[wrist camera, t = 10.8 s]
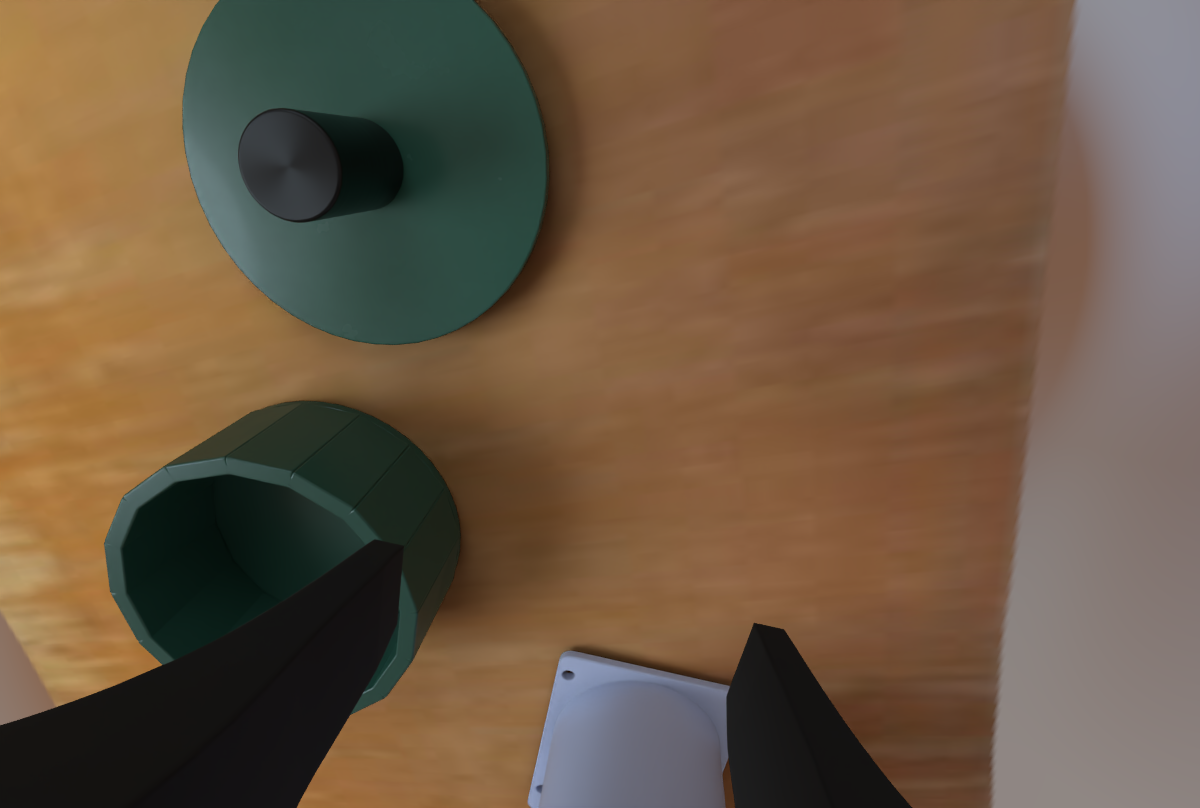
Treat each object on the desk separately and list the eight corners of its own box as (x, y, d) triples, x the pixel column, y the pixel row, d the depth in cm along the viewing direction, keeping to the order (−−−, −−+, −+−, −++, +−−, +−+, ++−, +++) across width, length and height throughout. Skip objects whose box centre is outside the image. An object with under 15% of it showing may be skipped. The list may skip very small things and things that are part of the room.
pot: (446, 649, 27) (403, 749, 22) (212, 596, 27) (121, 685, 22) (475, 434, 23) (429, 502, 18) (201, 373, 23) (88, 426, 19)
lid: (524, 367, 22) (485, 425, 17) (213, 299, 22) (89, 337, 17) (583, -3, 18) (553, -61, 13) (197, -84, 18) (29, -172, 13)
